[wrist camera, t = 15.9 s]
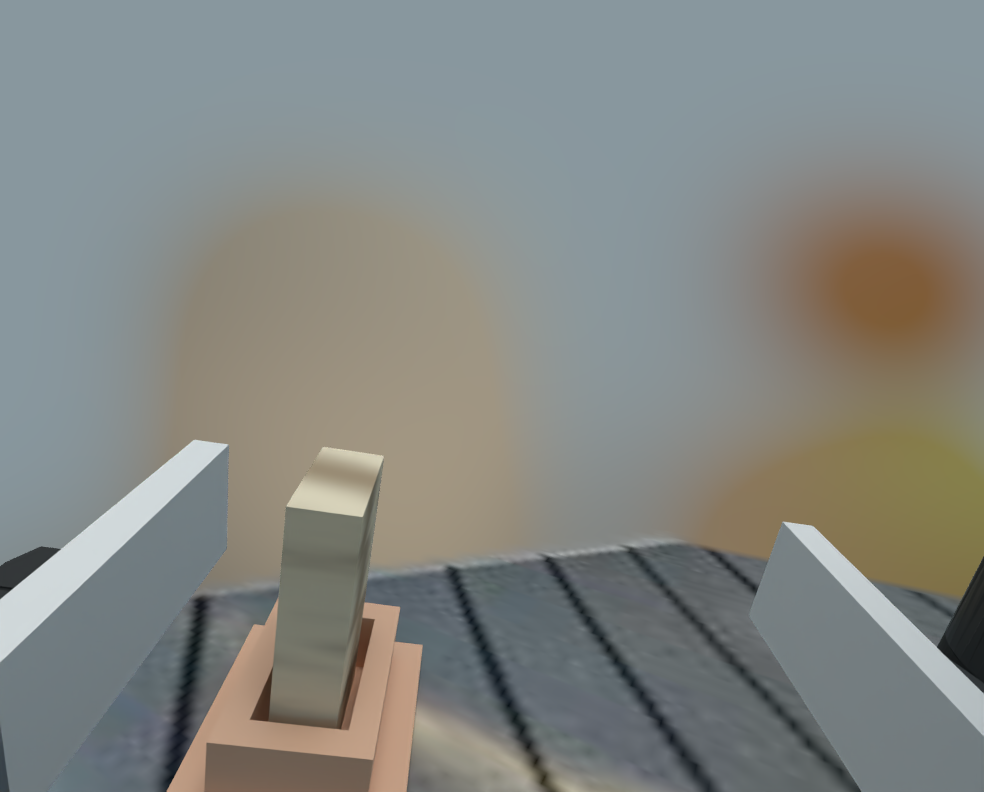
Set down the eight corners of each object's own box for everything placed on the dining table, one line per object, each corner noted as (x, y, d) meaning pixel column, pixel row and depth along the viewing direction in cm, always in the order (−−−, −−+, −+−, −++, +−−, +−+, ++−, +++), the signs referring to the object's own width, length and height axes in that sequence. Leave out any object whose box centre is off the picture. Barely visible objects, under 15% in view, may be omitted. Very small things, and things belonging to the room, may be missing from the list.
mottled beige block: (300, 669, 38) (323, 446, 33) (354, 675, 38) (384, 455, 33) (264, 767, 31) (286, 506, 27) (330, 774, 32) (362, 517, 27)
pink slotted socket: (253, 636, 41) (257, 576, 40) (420, 656, 42) (430, 599, 41) (149, 839, 28) (149, 761, 26) (397, 861, 29) (411, 788, 27)
